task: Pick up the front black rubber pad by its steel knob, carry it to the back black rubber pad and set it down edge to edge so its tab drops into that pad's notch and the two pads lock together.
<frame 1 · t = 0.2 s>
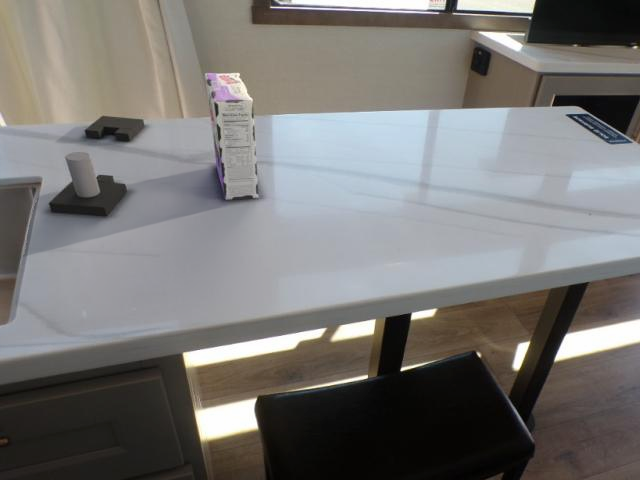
notch pad: (116, 131, 102), on the counter
candy box: (237, 182, 91), on the counter
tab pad: (91, 201, 81), on the counter
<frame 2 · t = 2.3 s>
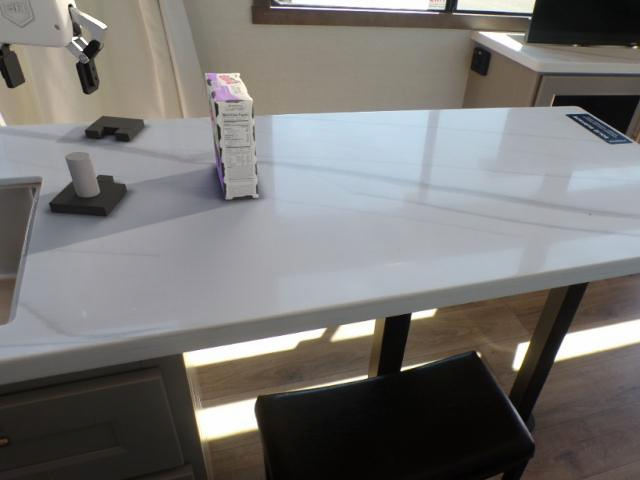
hand: (54, 88, 70), 17 cm above the counter, tool pointing down, fingers open, 9 cm apart
nothing on the counter moved.
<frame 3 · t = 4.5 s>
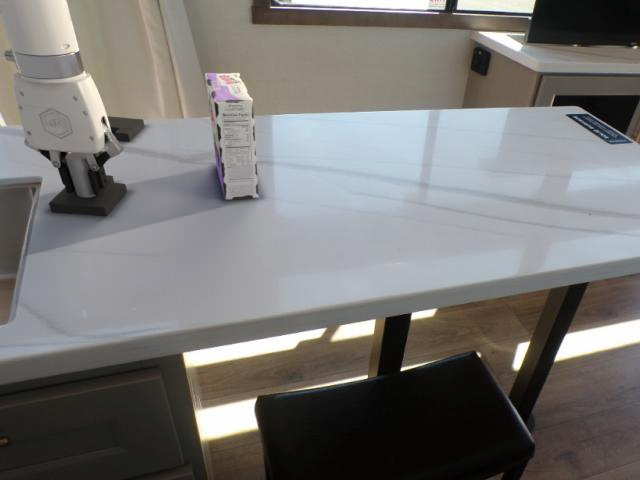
hand: (87, 189, 80), 2 cm above the counter, tool pointing down, fingers closed on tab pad, 3 cm apart
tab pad: (91, 201, 81), on the counter, touching gripper
everything else where it was.
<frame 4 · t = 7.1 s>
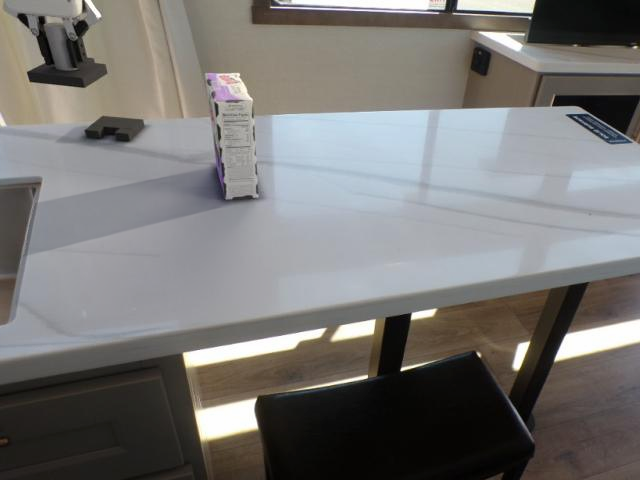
hand: (66, 63, 80), 17 cm above the counter, tool pointing down, fingers closed on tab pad, 3 cm apart
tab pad: (70, 77, 81), point 15 cm above the counter, touching gripper
everything else where it was.
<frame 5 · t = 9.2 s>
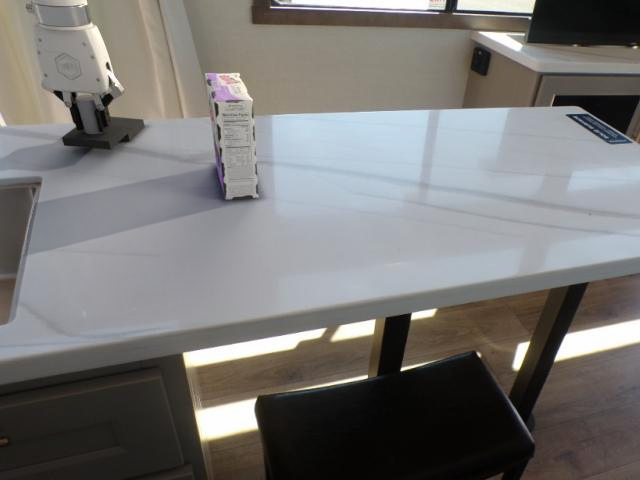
hand: (94, 127, 94), 4 cm above the counter, tool pointing down, fingers closed on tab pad, 3 cm apart
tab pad: (97, 139, 95), point 2 cm above the counter, touching gripper
everything else where it was.
when the fingers open (2 cm above the counter, at t = 10.0 s): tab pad stays where it is, on the counter.
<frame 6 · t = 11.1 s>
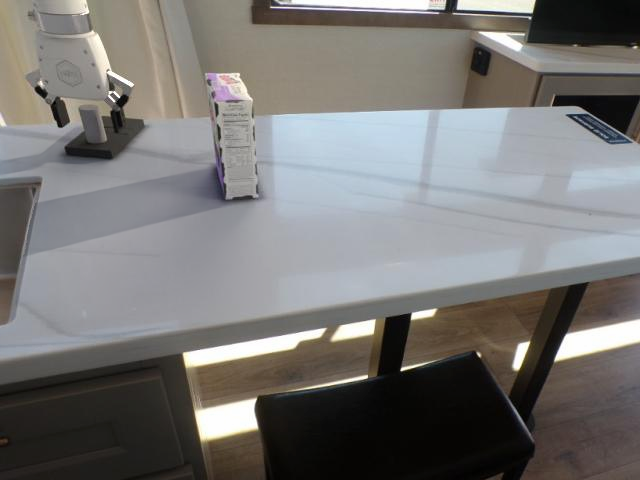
hand: (92, 127, 94), 4 cm above the counter, tool pointing down, fingers open, 9 cm apart
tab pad: (99, 148, 96), on the counter
everything else where it was.
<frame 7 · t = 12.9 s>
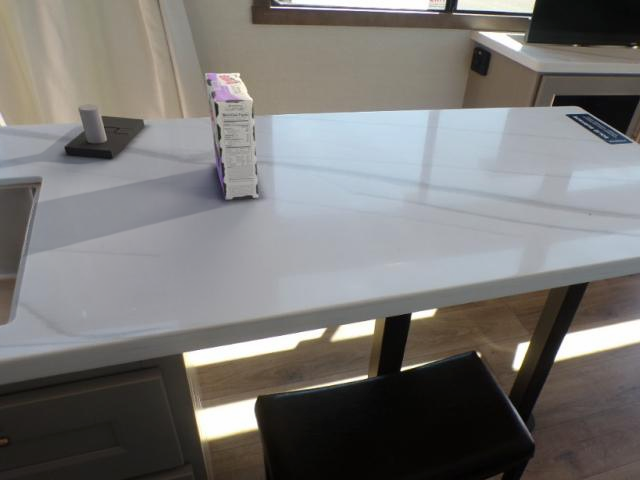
nothing on the counter moved.
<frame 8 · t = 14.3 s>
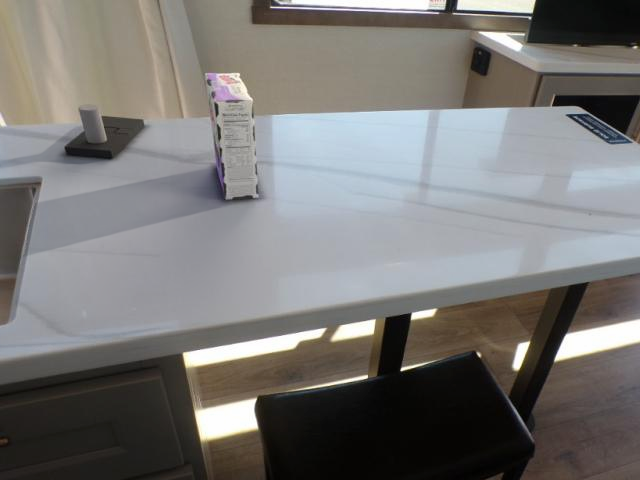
nothing on the counter moved.
at the end: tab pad 0.1 cm from the target spot on the counter beside the notch pad, on the counter; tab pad tilted 0°; the gripper is holding nothing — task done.
